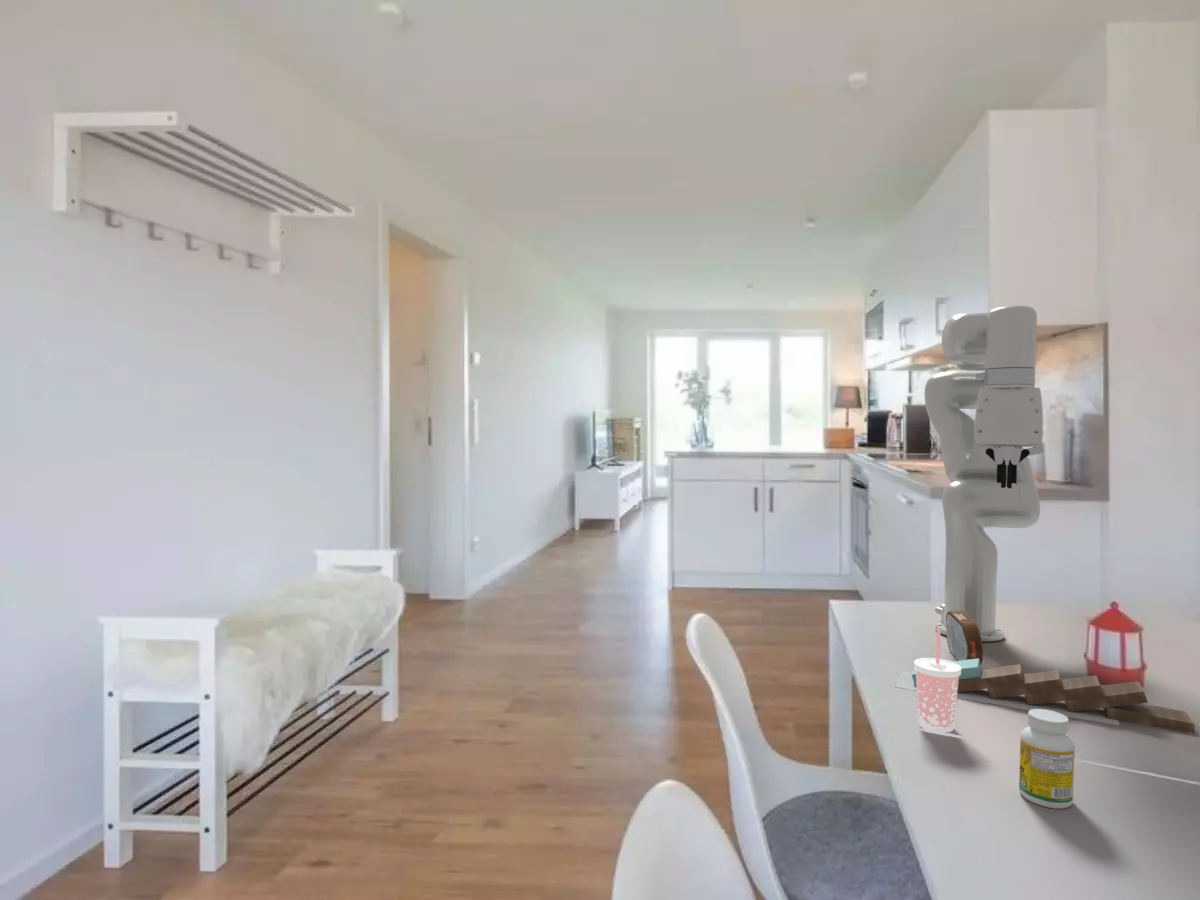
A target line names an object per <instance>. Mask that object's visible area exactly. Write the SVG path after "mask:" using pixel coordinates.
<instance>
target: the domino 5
mask: <svg viewBox="0 0 1200 900" xmlns="http://www.w3.org/2000/svg"><path fill="white" fill-rule="evenodd" d="M1100 686H1101V689H1102V693H1103V696H1101V697H1093V698H1085V699H1076V700H1068V701H1065V703H1066V706H1067V709H1068V712H1071V711H1080V710H1088V709H1097V708H1106V707H1115V706H1124V705H1132V704H1141V703H1142V704H1147V703H1149V702H1148V699H1147V697H1146V694H1145V691H1144V689H1143V686H1142V684H1141V682H1140V681H1139V680H1137V681H1128V682H1121V683H1112V684H1106V685H1100Z"/></svg>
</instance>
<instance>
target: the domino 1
mask: <svg viewBox="0 0 1200 900" xmlns="http://www.w3.org/2000/svg"><path fill="white" fill-rule="evenodd" d="M952 662H954V663H956V664H958V665H960V666H961V667H962V669H961V675H960V676H959V679H968V678H977V677H981V671H982V670H983V668H982V666H981V664H980V660H979V658H978V659H969V660H961V661H957V660H954V661H953V660H952ZM912 678H913V681H914V684H916V669H915V668H914V667H913V670H912Z"/></svg>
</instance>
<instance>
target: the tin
mask: <svg viewBox="0 0 1200 900" xmlns="http://www.w3.org/2000/svg"><path fill="white" fill-rule="evenodd" d="M946 626H947V636H946V635H945V636H946V643H947V647H948V650H949V653H950V654H951V655H952V656H953V657H954V659H955V661H961V660H969V659H978V658H979V660H980V664H981V667H982V666H983V660H984V659H983V658H984V650H983V648H984V647H983V641H982V639H981V634H980V631H979V628H978V625H977V623H976V622H975V621H974V620H973V619H972V618H971V617H970V616H969V615H967V614H966V613H965V612H964V611H963V610H961V611H949V612H948V613H947V615H946Z"/></svg>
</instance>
